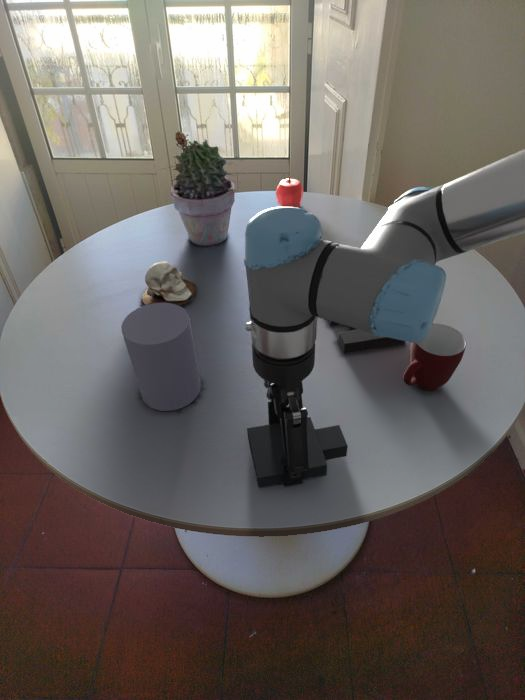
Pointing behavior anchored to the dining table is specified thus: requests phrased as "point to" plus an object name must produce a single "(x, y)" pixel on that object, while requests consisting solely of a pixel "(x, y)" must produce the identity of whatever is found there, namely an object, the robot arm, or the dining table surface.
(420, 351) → the mug
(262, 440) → the pad
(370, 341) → the base pad
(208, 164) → the potted plant
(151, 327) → the container
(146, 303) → the skull
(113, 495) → the dining table surface
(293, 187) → the apple
